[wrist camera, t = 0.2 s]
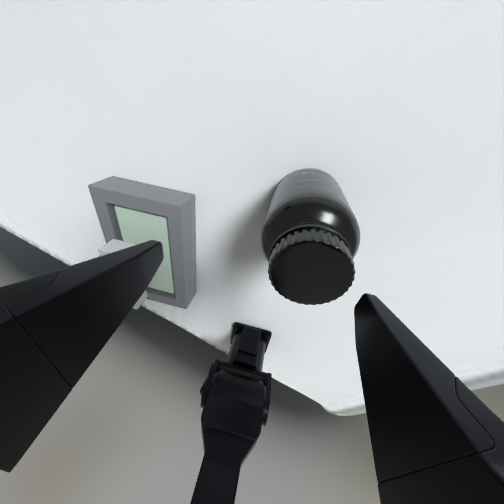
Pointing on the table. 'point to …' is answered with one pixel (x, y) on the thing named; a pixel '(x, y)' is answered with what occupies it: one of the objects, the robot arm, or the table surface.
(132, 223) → the cover
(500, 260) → the table surface
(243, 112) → the table surface
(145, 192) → the case
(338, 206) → the supplement bottle
